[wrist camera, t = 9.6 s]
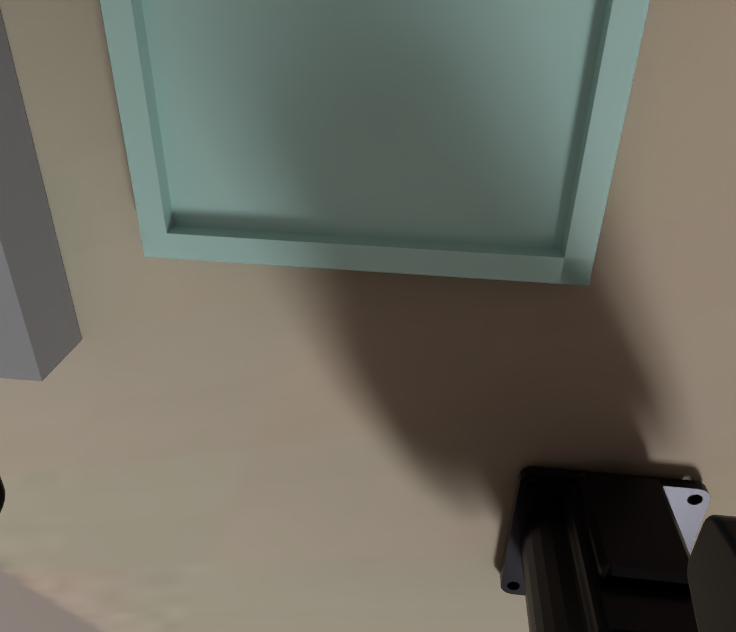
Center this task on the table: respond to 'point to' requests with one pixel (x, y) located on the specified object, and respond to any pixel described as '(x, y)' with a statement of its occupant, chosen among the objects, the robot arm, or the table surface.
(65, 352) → the pdu strip
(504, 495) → the table surface
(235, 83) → the tray
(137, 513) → the table surface
